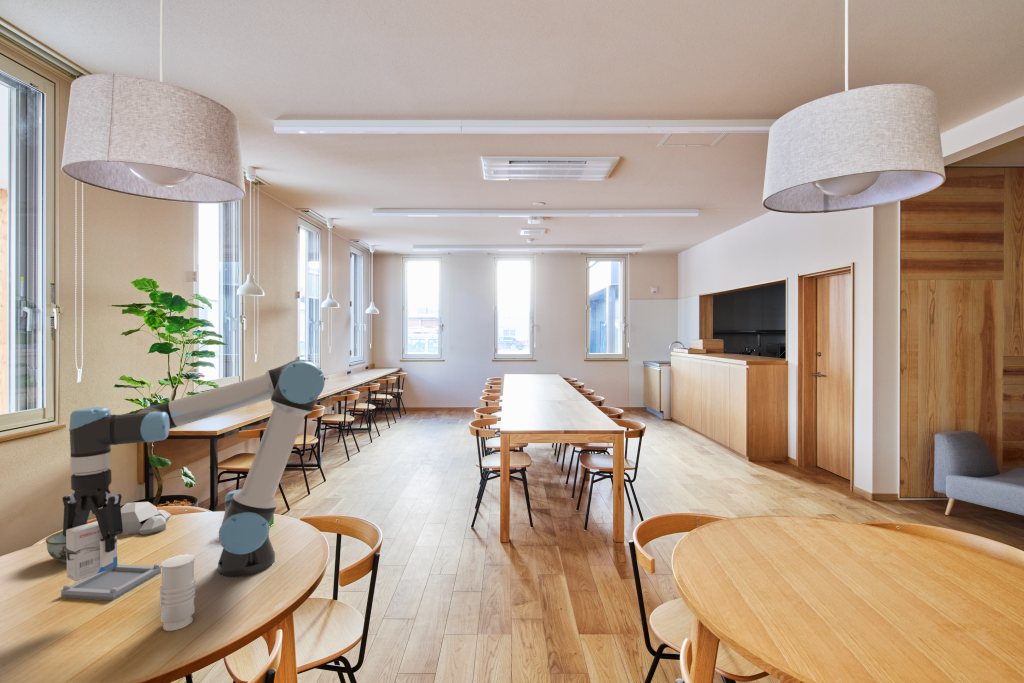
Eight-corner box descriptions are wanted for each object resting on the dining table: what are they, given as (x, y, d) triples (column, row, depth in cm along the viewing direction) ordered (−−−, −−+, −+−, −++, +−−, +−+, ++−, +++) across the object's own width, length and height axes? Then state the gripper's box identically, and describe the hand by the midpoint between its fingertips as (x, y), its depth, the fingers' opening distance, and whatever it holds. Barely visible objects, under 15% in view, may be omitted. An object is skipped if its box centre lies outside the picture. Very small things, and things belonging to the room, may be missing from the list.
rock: (170, 516, 186) (170, 491, 186) (173, 532, 170) (174, 505, 171) (108, 527, 175) (109, 501, 175) (106, 545, 159) (107, 516, 159)
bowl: (32, 567, 143) (33, 540, 143) (82, 548, 156) (82, 524, 156) (67, 572, 140) (67, 545, 140) (115, 553, 153) (115, 527, 153)
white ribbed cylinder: (157, 623, 115) (157, 560, 115) (191, 611, 120) (191, 551, 120) (162, 635, 110) (162, 570, 110) (198, 623, 115) (198, 560, 115)
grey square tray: (160, 573, 140) (160, 563, 140) (113, 600, 125) (113, 590, 125) (113, 571, 141) (113, 561, 141) (61, 597, 126) (61, 587, 126)
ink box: (108, 562, 123) (107, 516, 123) (118, 566, 121) (117, 520, 121) (65, 577, 116) (64, 528, 115) (75, 582, 113) (74, 532, 113)
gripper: (140, 467, 121) (142, 558, 121) (71, 466, 123) (73, 556, 123) (113, 475, 114) (115, 572, 114) (39, 475, 116) (42, 570, 116)
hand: (93, 564), depth 118 cm, fingers closed on ink box, 6 cm apart
